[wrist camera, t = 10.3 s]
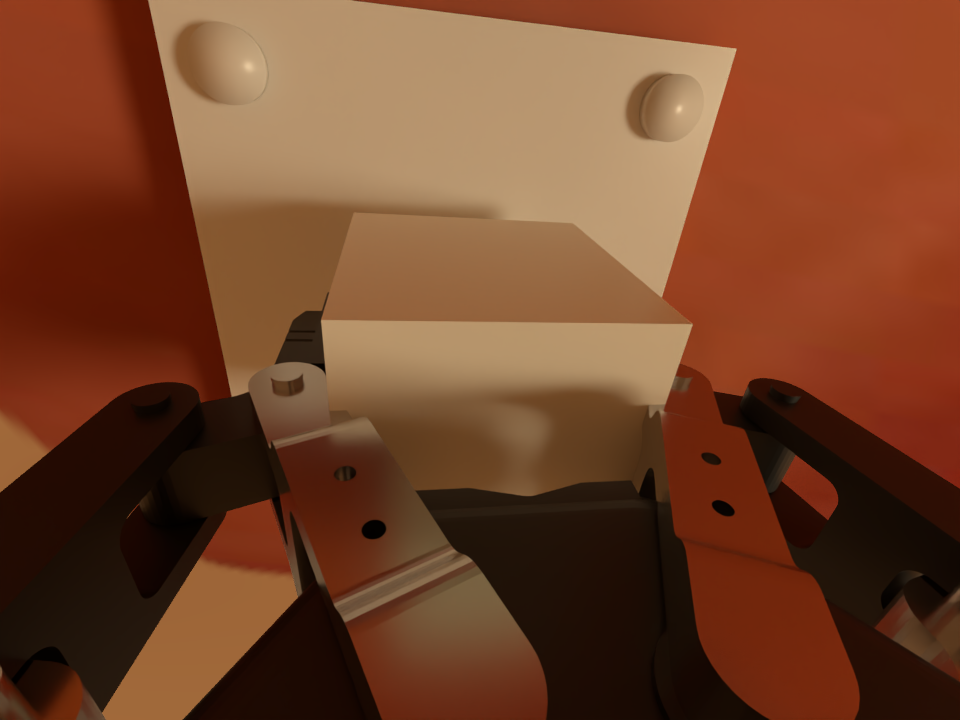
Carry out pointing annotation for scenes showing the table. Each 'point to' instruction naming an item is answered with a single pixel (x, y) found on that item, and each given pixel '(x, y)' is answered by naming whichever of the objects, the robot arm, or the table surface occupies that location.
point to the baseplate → (416, 139)
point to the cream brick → (496, 351)
